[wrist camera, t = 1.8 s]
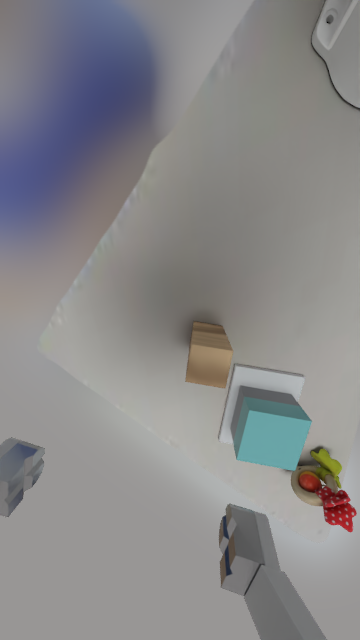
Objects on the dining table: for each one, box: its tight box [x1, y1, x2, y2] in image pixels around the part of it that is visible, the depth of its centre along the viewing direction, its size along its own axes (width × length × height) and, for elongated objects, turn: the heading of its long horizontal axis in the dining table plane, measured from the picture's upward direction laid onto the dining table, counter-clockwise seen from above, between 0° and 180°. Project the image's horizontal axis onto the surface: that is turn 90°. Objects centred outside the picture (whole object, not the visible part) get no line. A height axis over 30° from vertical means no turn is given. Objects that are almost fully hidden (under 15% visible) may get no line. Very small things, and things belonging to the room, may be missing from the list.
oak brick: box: [185, 321, 233, 388], centre depth 32 cm, size 5×5×12 cm
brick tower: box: [219, 364, 312, 471], centre depth 36 cm, size 16×12×8 cm
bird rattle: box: [291, 449, 356, 532], centre depth 37 cm, size 6×11×9 cm
